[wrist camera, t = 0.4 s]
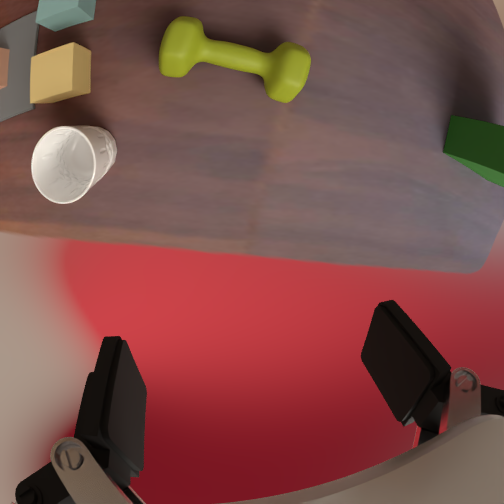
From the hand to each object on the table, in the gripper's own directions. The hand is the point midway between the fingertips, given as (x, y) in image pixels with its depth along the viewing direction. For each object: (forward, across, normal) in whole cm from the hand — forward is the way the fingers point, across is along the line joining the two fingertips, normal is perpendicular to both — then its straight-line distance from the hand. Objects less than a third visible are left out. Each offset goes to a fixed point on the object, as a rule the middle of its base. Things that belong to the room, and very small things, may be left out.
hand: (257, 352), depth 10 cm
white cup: (+30, +15, -5) cm, 34 cm away
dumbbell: (+30, -3, -15) cm, 34 cm away
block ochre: (+30, +18, -16) cm, 38 cm away
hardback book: (+30, -49, -6) cm, 57 cm away
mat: (+29, +32, -22) cm, 49 cm away
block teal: (+30, +18, -27) cm, 44 cm away
